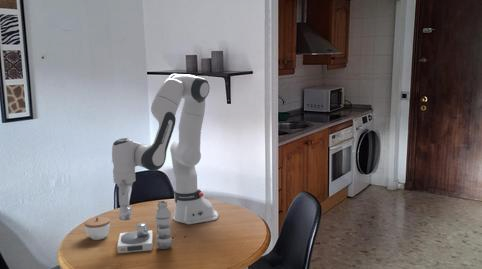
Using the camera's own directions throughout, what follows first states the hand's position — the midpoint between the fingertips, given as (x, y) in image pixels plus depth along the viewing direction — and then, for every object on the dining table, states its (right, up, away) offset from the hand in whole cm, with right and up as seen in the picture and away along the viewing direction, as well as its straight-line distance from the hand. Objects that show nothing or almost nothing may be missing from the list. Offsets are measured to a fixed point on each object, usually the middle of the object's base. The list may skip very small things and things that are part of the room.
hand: (126, 209), depth 179 cm
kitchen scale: (+3, -16, +3) cm, 17 cm away
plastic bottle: (+16, -17, 0) cm, 23 cm away
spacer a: (-1, -4, +1) cm, 4 cm away
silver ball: (+6, -12, +3) cm, 14 cm away
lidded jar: (-16, -15, +12) cm, 25 cm away
